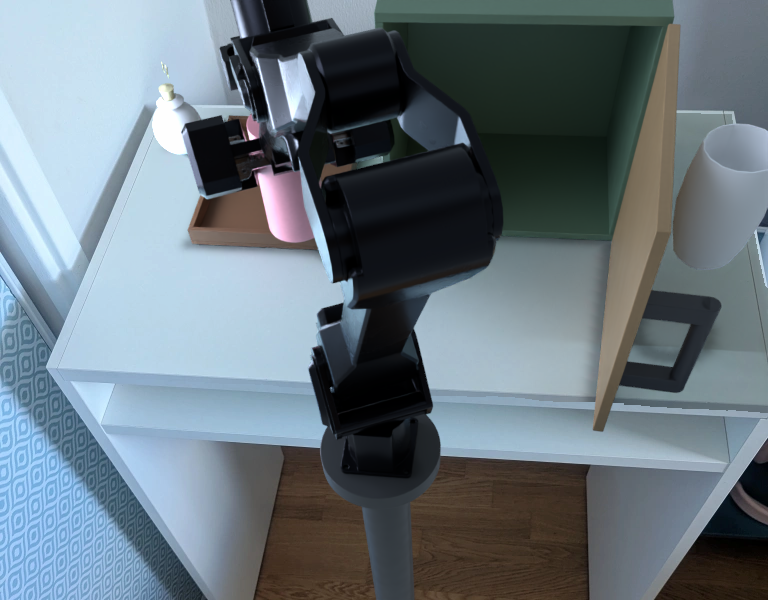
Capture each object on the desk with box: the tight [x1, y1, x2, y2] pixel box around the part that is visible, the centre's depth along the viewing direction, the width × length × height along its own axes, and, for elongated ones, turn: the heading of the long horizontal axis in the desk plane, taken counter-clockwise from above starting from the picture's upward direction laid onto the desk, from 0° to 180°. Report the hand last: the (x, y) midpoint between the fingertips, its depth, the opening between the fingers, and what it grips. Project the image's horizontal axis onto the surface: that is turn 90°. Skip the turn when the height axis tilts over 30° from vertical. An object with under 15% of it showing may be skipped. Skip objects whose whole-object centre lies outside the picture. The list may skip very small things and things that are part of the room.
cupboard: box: [373, 0, 675, 242], centre depth 80 cm, size 18×26×24 cm
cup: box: [672, 122, 768, 271], centre depth 68 cm, size 7×7×21 cm
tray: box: [187, 114, 359, 251], centre depth 91 cm, size 21×17×2 cm
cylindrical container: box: [247, 113, 322, 243], centre depth 78 cm, size 6×6×12 cm
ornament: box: [152, 61, 202, 155], centre depth 92 cm, size 6×7×10 cm
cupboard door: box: [592, 23, 722, 433], centre depth 67 cm, size 7×26×23 cm, turn 168°
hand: (285, 158), depth 78 cm, fingers closed on cylindrical container, 6 cm apart
